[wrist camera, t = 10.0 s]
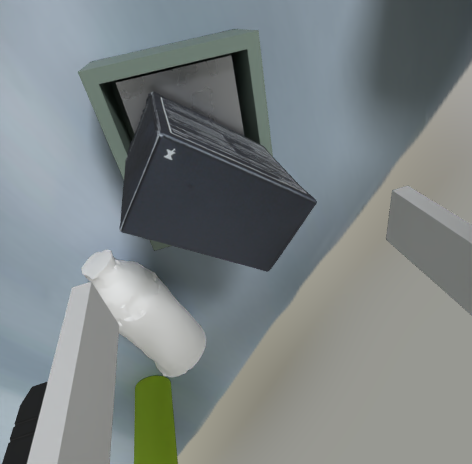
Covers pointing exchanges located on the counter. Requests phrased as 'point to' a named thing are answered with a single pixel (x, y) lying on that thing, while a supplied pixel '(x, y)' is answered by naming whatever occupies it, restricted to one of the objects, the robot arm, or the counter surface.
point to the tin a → (188, 90)
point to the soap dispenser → (154, 422)
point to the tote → (118, 67)
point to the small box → (208, 188)
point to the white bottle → (147, 312)
